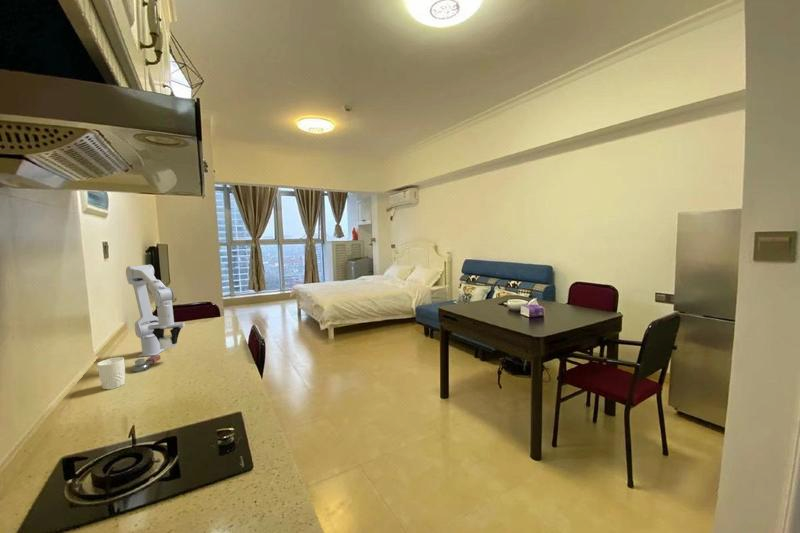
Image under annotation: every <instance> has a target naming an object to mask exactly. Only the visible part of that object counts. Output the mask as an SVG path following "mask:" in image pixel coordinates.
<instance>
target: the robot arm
mask: <svg viewBox="0 0 800 533" xmlns="http://www.w3.org/2000/svg"><path fill="white" fill-rule="evenodd" d="M125 276H126V280H127V283H128V284H129V285H132V288H133V290H134V294H135V299H136V300H135V301H136V303H137V308H138V312H139V316H140V317H139V318H138V319H137V321H135V323H134V332H135V335H136V337H137V338H139V339H140V343H141V351H142V352H141V353H140V354H139V355H138V356H137V357H138V358H139V357H151V356H156V355H160V353H162V352H164V351H165V350H166V349H160V341H159V338H161V337H163V336H164V335H165V329H167V330H168V329H170V330H169V332H170V335H172V340H173V344H176V343H177V344H178V338H179V335H180V332H181V329H184V328H185V327H186V323H185V322H175V318H174V309H173V300H174V299H175V292H174V290H173V289H172V287H167V286H166V285H165V284H164V283H163V282H162V280H160V279H157V278H156V276H155V268H154V266H153V265H152V264H141V265H140V264H139V265H128V266H127V267H126V269H125ZM147 288H148V289H147ZM148 290H149V291H150V292H151V294H152V297H153V300H154V305H155V307H156V309H157V316H156V315H153V314H154V313H153V312H152V311H153V310H152V305H151V302H150V297H149V292H148Z"/></svg>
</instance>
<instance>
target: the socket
mask: <svg viewBox="0 0 800 533" xmlns="http://www.w3.org/2000/svg"><path fill="white" fill-rule="evenodd" d="M159 341H160V349H165V350H166V349H173V348H175V347H176V346H178V342H177V343H176V344H173V340H172V335H171V334H164V336H163V337H161V338H159Z"/></svg>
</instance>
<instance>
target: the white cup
mask: <svg viewBox="0 0 800 533" xmlns="http://www.w3.org/2000/svg"><path fill="white" fill-rule="evenodd" d="M125 363H126V362H125V357H111V358H108V359H104V360H101V361H98V362H97V370H98V371H97V372H98V377H99V381H100V384H101V389H102V388H103V389H102V390H104V389H107V390H113V389H117V388H120V387H122V386H125V383H126V367H125Z"/></svg>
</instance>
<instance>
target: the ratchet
mask: <svg viewBox="0 0 800 533" xmlns="http://www.w3.org/2000/svg"><path fill="white" fill-rule="evenodd" d="M160 360H161V355H160V354H157V355H154V356H149V357H148V358H147V359H145V358H138V359H136V360H134V365H132V366H131V367H130V368H131V373H133V374H134V373H135V374H136V373H142V372H146V371H148V370H149V369H150V367H151V366H152V365H154V364H155V363H157V362H158V361H160Z"/></svg>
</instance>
